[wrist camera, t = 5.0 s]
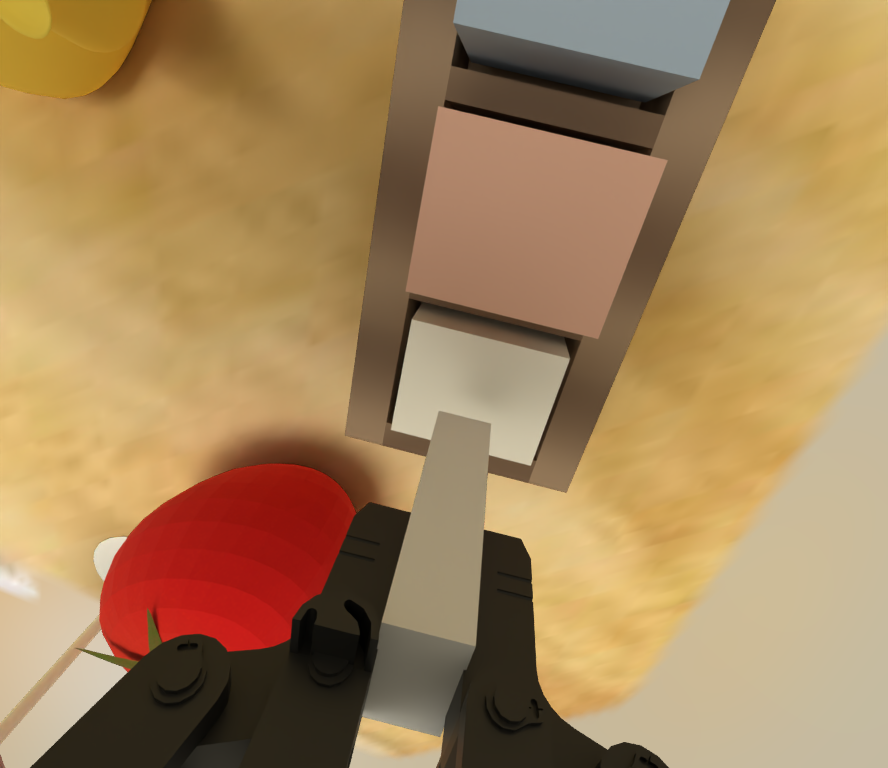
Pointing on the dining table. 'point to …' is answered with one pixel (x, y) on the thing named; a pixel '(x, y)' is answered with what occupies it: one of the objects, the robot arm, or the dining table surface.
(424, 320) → the ivory key
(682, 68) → the slate key
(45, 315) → the dining table surface
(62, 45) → the teapot
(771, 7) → the key block
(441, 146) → the terracotta key
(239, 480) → the tomato
